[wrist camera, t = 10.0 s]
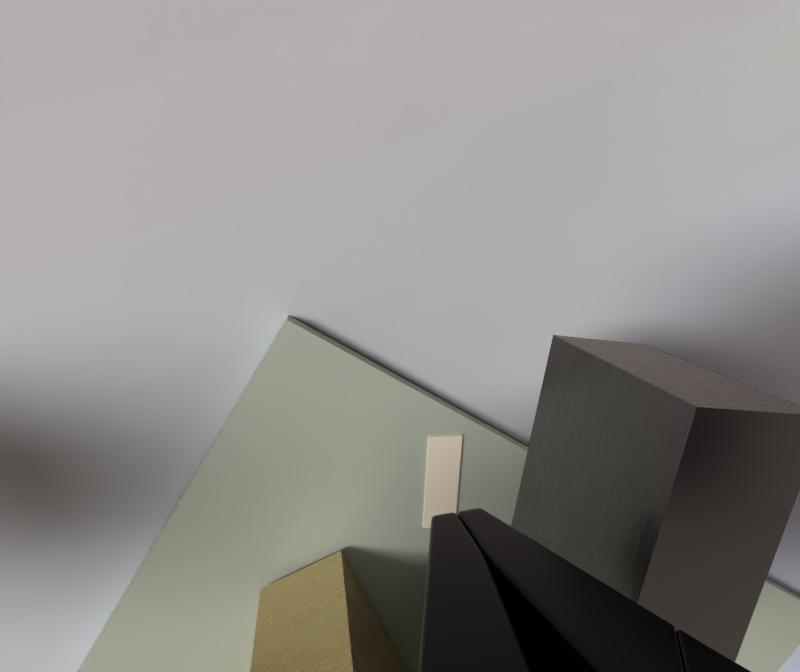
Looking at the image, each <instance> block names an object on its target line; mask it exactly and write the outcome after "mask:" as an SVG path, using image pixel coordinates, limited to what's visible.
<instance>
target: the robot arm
mask: <svg viewBox="0 0 800 672" xmlns="http://www.w3.org/2000/svg"><path fill="white" fill-rule="evenodd" d="M418 672H751V671H749V670H747V669H746V668H744V667H742V666H741V665H739V664H737V663H736V662H734V661H732V660H730V659H729V658H727V657H725V656H724V655H722V654H720V653H718V652H717V651H715V650H713V649H712V648H710V647H708V646H707V645H705V644H703V643H702V642H700V641H698V640H697V639H695V638H693V637H692V636H690V635H689V634H687V633H685V632H684V631H682V630H677V631H676V629H675V627H674V626H673V625H672V624H670V623H669V622H667V621H665V620H664V619H662V618H660V617H659V616H657V615H655V614H654V613H652V612H651V611H649V610H647V609H646V608H644V607H642V606H641V605H639V604H637V603H636V602H634V601H632V600H631V599H629V598H628V597H626V596H624V595H623V594H621V593H619V592H618V591H616V590H614V589H613V588H611V587H610V586H608V585H606V584H605V583H603V582H601V581H600V580H598V579H596V578H595V577H593V576H592V575H590V574H588V573H587V572H585V571H583V570H582V569H580V568H578V567H577V566H575V565H574V564H572V563H570V562H569V561H567V560H565V559H564V558H562V557H560V556H559V555H557V554H555V553H554V552H552V551H551V550H549V549H547V548H546V547H544V546H542V545H541V544H539V543H537V542H536V541H534V540H533V539H531V538H529V537H528V536H526V535H524V534H523V533H521V532H519V531H518V530H516V529H515V528H513V527H511V526H510V525H508V524H506V523H505V522H503V521H501V520H500V519H498V518H496V517H495V516H493V515H492V514H490V513H488V512H487V511H485V510H483V509H481V508H474V509H468V510H463V511H459V512H458V513H457V514H456V513H445V514H440V515H435V516H433V517H432V519H431V529H430V541H429V552H428V564H427V575H426V587H425V598H424V610H423V622H422V633H421V645H420V656H419V668H418Z"/></svg>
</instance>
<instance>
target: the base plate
mask: <svg viewBox="0 0 800 672" xmlns="http://www.w3.org/2000/svg"><path fill="white" fill-rule="evenodd" d="M527 451H528V447H527V446H525V445H523V444H521V443H519V442H518V441H516V440H514V439H512V438H510V437H509V436H507V435H505V434H503V433H501V432H500V431H498V430H496V429H494V428H492V427H490V426H489V425H487V424H485V423H483V422H481V421H480V420H478V419H476V418H474V417H472V416H470V415H469V414H467V413H465V412H463V411H461V410H460V409H458V408H456V407H454V406H452V405H450V404H449V403H447V402H445V401H443V400H441V399H440V398H438V397H436V396H434V395H432V394H430V393H429V392H427V391H425V390H423V389H421V388H420V387H418V386H416V385H414V384H412V383H411V382H409V381H407V380H405V379H403V378H401V377H400V376H398V375H396V374H394V373H392V372H391V371H389V370H387V369H385V368H383V367H381V366H380V365H378V364H376V363H374V362H372V361H371V360H369V359H367V358H365V357H363V356H361V355H360V354H358V353H356V352H354V351H352V350H351V349H349V348H347V347H345V346H343V345H341V344H340V343H338V342H336V341H334V340H332V339H331V338H329V337H327V336H325V335H323V334H322V333H320V332H318V331H316V330H314V329H312V328H311V327H309V326H307V325H305V324H303V323H302V322H300V321H298V320H296V319H294V318H292V317H291V316H289V315H288V317H287V319H286V320H285V322H284V324H283V325H282V327H281V329H280V331H279V332H278V334H277V336H276V337H275V339H274V341H273V342H272V344H271V346H270V347H269V349H268V351H267V352H266V354H265V356H264V358H263V359H262V361H261V363H260V364H259V366H258V368H257V369H256V371H255V373H254V374H253V376H252V378H251V379H250V381H249V383H248V385H247V386H246V388H245V390H244V391H243V393H242V395H241V396H240V398H239V400H238V401H237V403H236V405H235V406H234V408H233V410H232V412H231V413H230V415H229V417H228V418H227V420H226V422H225V423H224V425H223V427H222V428H221V430H220V432H219V433H218V435H217V437H216V439H215V440H214V442H213V444H212V445H211V447H210V449H209V450H208V452H207V454H206V455H205V457H204V459H203V460H202V462H201V464H200V466H199V467H198V469H197V471H196V472H195V474H194V476H193V477H192V479H191V481H190V482H189V484H188V486H187V487H186V489H185V491H184V493H183V494H182V496H181V498H180V499H179V501H178V503H177V504H176V506H175V508H174V509H173V511H172V513H171V514H170V516H169V518H168V520H167V521H166V523H165V525H164V526H163V528H162V530H161V531H160V533H159V535H158V536H157V538H156V540H155V541H154V543H153V545H152V547H151V548H150V550H149V552H148V553H147V555H146V557H145V558H144V560H143V562H142V563H141V565H140V567H139V568H138V570H137V572H136V574H135V575H134V577H133V579H132V580H131V582H130V584H129V585H128V587H127V589H126V590H125V592H124V594H123V595H122V597H121V599H120V601H119V602H118V604H117V606H116V607H115V609H114V611H113V612H112V614H111V616H110V617H109V619H108V621H107V622H106V624H105V626H104V628H103V629H102V631H101V633H100V634H99V636H98V638H97V639H96V641H95V643H94V644H93V646H92V648H91V649H90V651H89V653H88V655H87V656H86V658H85V660H84V661H83V663H82V665H81V666H80V668H79V670H78V671H77V672H250V668H251V660H252V652H253V644H254V636H255V628H256V620H257V612H258V604H259V596H260V589H261V588H263V587H266V586H268V585H270V584H272V583H274V582H276V581H278V580H280V579H282V578H285V577H287V576H289V575H291V574H293V573H295V572H297V571H299V570H302V569H304V568H306V567H308V566H310V565H312V564H314V563H316V562H318V561H321V560H323V559H325V558H327V557H329V556H331V555H333V554H335V553H338V552H340V551H341V552H342V553H343V555H344V557H345V559H346V561H347V563H348V565H349V566H350V568H351V570H352V572H353V574H354V576H355V578H356V579H357V581H358V583H359V585H360V587H361V589H362V591H363V592H364V594H365V596H366V598H367V600H368V602H369V604H370V605H371V607H372V609H373V611H374V613H375V615H376V617H377V618H378V620H379V622H380V624H381V626H382V628H383V630H384V631H385V633H386V635H387V637H388V639H389V641H390V643H391V644H392V646H393V648H394V650H395V652H396V654H397V656H398V657H399V659H400V661H401V663H402V665H403V667H404V669H405V670H406V672H418V668H419V656H420V645H421V633H422V622H423V610H424V598H425V587H426V575H427V564H428V552H429V541H430V529H431V519H432V517H433V516H435V515H440V514H445V513H456V514H457V513H458V512H459V511H463V510H468V509H474V508H481V509H483V510H485V511H487V512H488V513H490V514H492V515H493V516H495V517H496V518H498V519H500V520H501V521H503V522H505V523H506V524H508V525H510V526H511V523H512V519H513V514H514V510H515V505H516V501H517V496H518V492H519V487H520V483H521V478H522V474H523V469H524V465H525V460H526V456H527ZM799 644H800V597H799V596H797V595H796V594H794V593H792V592H790V591H788V590H786V589H785V588H783V587H781V586H779V585H777V584H776V583H774V582H772V581H770V580H768V579H767V578H766V580H765V583H764V586H763V588H762V591H761V594H760V596H759V599H758V602H757V604H756V607H755V610H754V612H753V615H752V618H751V621H750V623H749V626H748V629H747V631H746V634H745V637H744V639H743V642H742V645H741V647H740V650H739V653H738V656H737V658H736V661H735V662H736V663H737V664H739V665H741V666H742V667H744V668H746V669H747V670H749V671H751V672H777V671H778V670H779V669H780V667H781V666H782V665H783V664H784V663H785V661H786V660H787V659H788V658H789V656H790V655H791V654H792V653H793V652H794V650H795V649H796V648H797V647H798V645H799Z"/></svg>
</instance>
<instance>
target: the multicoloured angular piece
mask: <svg viewBox="0 0 800 672" xmlns="http://www.w3.org/2000/svg"><path fill="white" fill-rule="evenodd" d="M799 489H800V406H799V405H796V404H794V403H791V402H789V401H786V400H784V399H781V398H779V397H776V396H774V395H771V394H768V393H766V392H763V391H761V390H758V389H756V388H753V387H751V386H748V385H746V384H743V383H741V382H738V381H735V380H733V379H730V378H728V377H725V376H723V375H720V374H718V373H715V372H713V371H710V370H707V369H705V368H702V367H700V366H697V365H695V364H692V363H690V362H687V361H685V360H682V359H680V358H677V357H674V356H672V355H669V354H667V353H664V352H662V351H659V350H657V349H654V348H652V347H649V346H646V345H644V344H635V343H625V342H615V341H606V340H596V339H586V338H577V337H567V336H557V335H553V339H552V344H551V348H550V353H549V357H548V362H547V366H546V371H545V375H544V380H543V384H542V388H541V393H540V397H539V402H538V406H537V411H536V415H535V420H534V424H533V429H532V433H531V438H530V442H529V447H528V451H527V456H526V460H525V465H524V469H523V474H522V478H521V483H520V487H519V492H518V496H517V501H516V505H515V510H514V514H513V519H512V523H511V527H513V528H515V529H516V530H518V531H519V532H521V533H523V534H524V535H526V536H528V537H529V538H531V539H533V540H534V541H536V542H537V543H539V544H541V545H542V546H544V547H546V548H547V549H549V550H551V551H552V552H554V553H555V554H557V555H559V556H560V557H562V558H564V559H565V560H567V561H569V562H570V563H572V564H574V565H575V566H577V567H578V568H580V569H582V570H583V571H585V572H587V573H588V574H590V575H592V576H593V577H595V578H596V579H598V580H600V581H601V582H603V583H605V584H606V585H608V586H610V587H611V588H613V589H614V590H616V591H618V592H619V593H621V594H623V595H624V596H626V597H628V598H629V599H631V600H632V601H634V602H636V603H637V604H639V605H641V606H642V607H644V608H646V609H647V610H649V611H651V612H652V613H654V614H655V615H657V616H659V617H660V618H662V619H664V620H665V621H667V622H669V623H670V624H672V625H673V626H674V627H675V629H676V631H677V630H682V631H684V632H685V633H687V634H689V635H690V636H692V637H693V638H695V639H697V640H698V641H700V642H702V643H703V644H705V645H707V646H708V647H710V648H712V649H713V650H715V651H717V652H718V653H720V654H722V655H724V656H725V657H727V658H729V659H730V660H732V661H734V662H735V661H736V658H737V656H738V653H739V650H740V647H741V645H742V642H743V639H744V637H745V634H746V631H747V629H748V626H749V623H750V621H751V618H752V615H753V612H754V610H755V607H756V604H757V602H758V599H759V596H760V594H761V591H762V588H763V586H764V583H765V580H766V578H767V575H768V572H769V569H770V567H771V564H772V561H773V559H774V556H775V553H776V551H777V548H778V545H779V543H780V540H781V537H782V534H783V532H784V529H785V526H786V524H787V521H788V518H789V516H790V513H791V510H792V508H793V505H794V502H795V500H796V497H797V494H798V491H799ZM250 672H406V670H405V669H404V667H403V665H402V663H401V661H400V659H399V657H398V656H397V654H396V652H395V650H394V648H393V646H392V644H391V643H390V641H389V639H388V637H387V635H386V633H385V631H384V630H383V628H382V626H381V624H380V622H379V620H378V618H377V617H376V615H375V613H374V611H373V609H372V607H371V605H370V604H369V602H368V600H367V598H366V596H365V594H364V592H363V591H362V589H361V587H360V585H359V583H358V581H357V579H356V578H355V576H354V574H353V572H352V570H351V568H350V566H349V565H348V563H347V561H346V559H345V557H344V555H343V553H342V552H341V551H340V552H338V553H335V554H333V555H331V556H329V557H327V558H325V559H323V560H321V561H318V562H316V563H314V564H312V565H310V566H308V567H306V568H304V569H302V570H299V571H297V572H295V573H293V574H291V575H289V576H287V577H285V578H282V579H280V580H278V581H276V582H274V583H272V584H270V585H268V586H266V587H263V588H261V589H260V596H259V604H258V612H257V620H256V628H255V636H254V644H253V652H252V660H251V668H250Z"/></svg>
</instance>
